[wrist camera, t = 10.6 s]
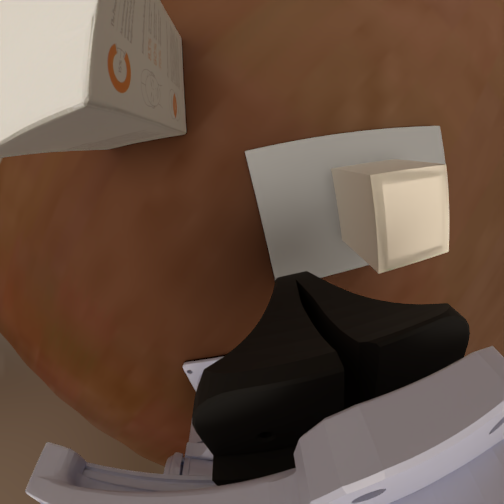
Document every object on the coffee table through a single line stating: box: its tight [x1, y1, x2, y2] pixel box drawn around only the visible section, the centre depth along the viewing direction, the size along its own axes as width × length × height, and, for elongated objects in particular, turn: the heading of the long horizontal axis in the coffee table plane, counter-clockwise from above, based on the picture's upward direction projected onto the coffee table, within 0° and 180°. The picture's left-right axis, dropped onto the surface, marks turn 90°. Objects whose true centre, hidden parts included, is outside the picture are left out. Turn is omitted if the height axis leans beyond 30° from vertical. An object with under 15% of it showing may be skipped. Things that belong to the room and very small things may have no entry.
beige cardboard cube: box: [331, 159, 449, 273], centre depth 15 cm, size 5×5×6 cm
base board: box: [245, 126, 445, 280], centre depth 19 cm, size 10×16×1 cm, turn 103°
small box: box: [0, 0, 186, 158], centre depth 10 cm, size 8×6×13 cm
